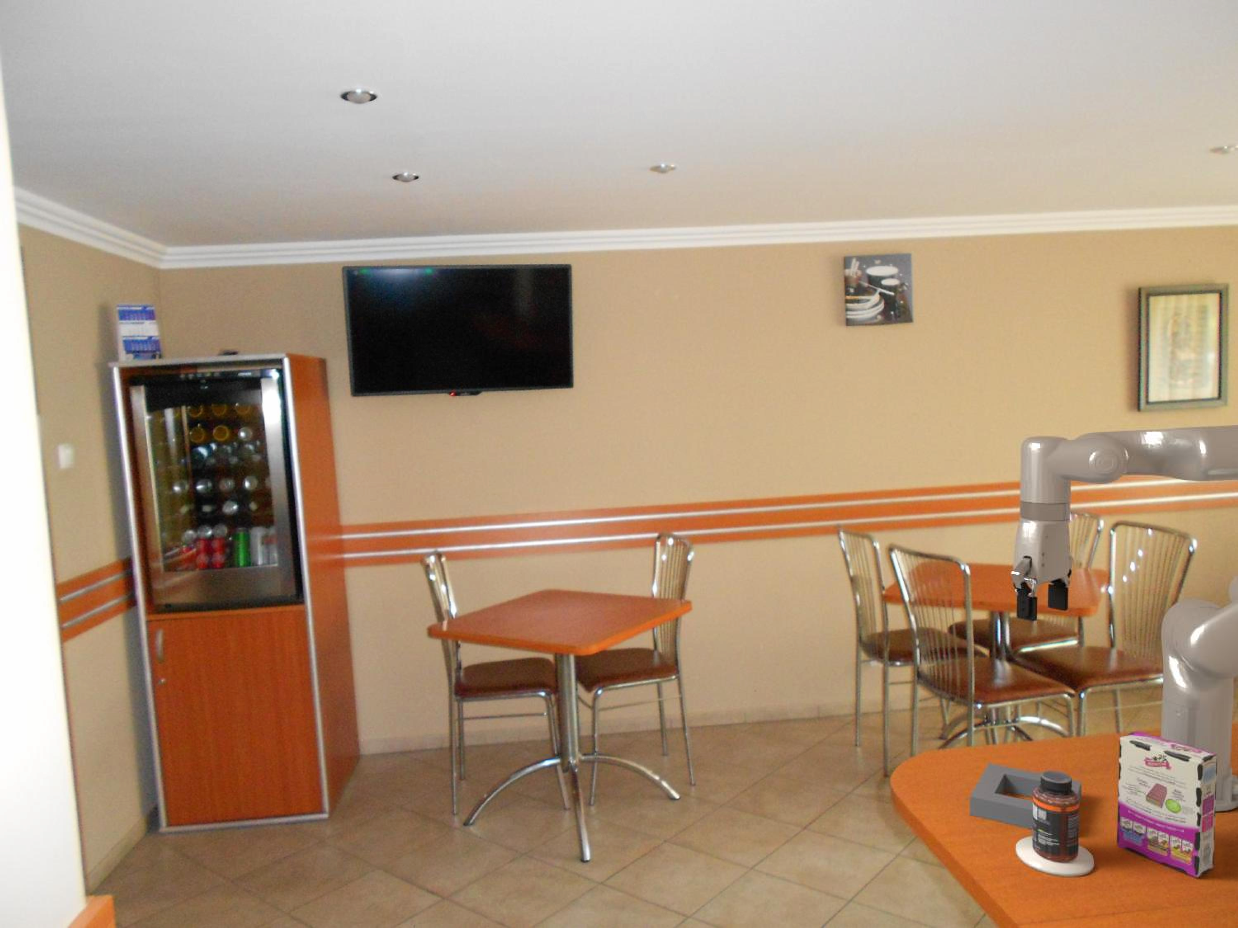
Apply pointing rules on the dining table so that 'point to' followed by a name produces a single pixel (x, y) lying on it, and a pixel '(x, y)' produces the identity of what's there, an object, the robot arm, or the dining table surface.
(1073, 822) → the supplement bottle
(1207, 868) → the candy bar box
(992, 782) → the socket block
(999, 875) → the dining table surface
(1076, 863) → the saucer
